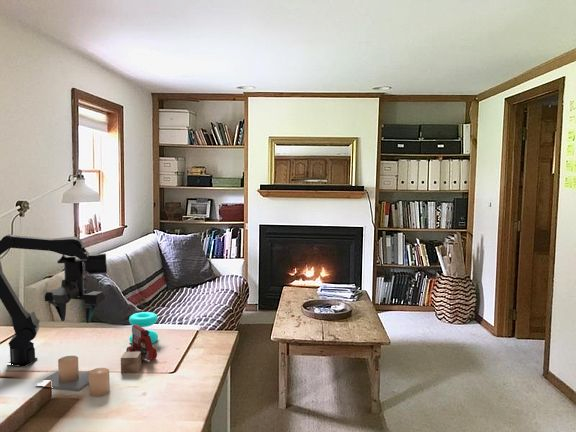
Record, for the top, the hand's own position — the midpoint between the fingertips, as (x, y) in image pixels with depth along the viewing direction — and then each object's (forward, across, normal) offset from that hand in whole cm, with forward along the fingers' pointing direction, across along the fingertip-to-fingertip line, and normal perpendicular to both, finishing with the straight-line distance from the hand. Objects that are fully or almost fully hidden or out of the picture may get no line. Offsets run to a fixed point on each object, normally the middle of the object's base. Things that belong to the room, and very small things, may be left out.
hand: (75, 321), depth 161 cm
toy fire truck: (+12, +22, +3) cm, 25 cm away
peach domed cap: (+12, +22, -22) cm, 33 cm away
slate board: (+12, +9, -17) cm, 23 cm away
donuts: (+12, +15, +18) cm, 26 cm away
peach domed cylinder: (+11, +9, -17) cm, 22 cm away
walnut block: (+12, +23, -6) cm, 27 cm away
